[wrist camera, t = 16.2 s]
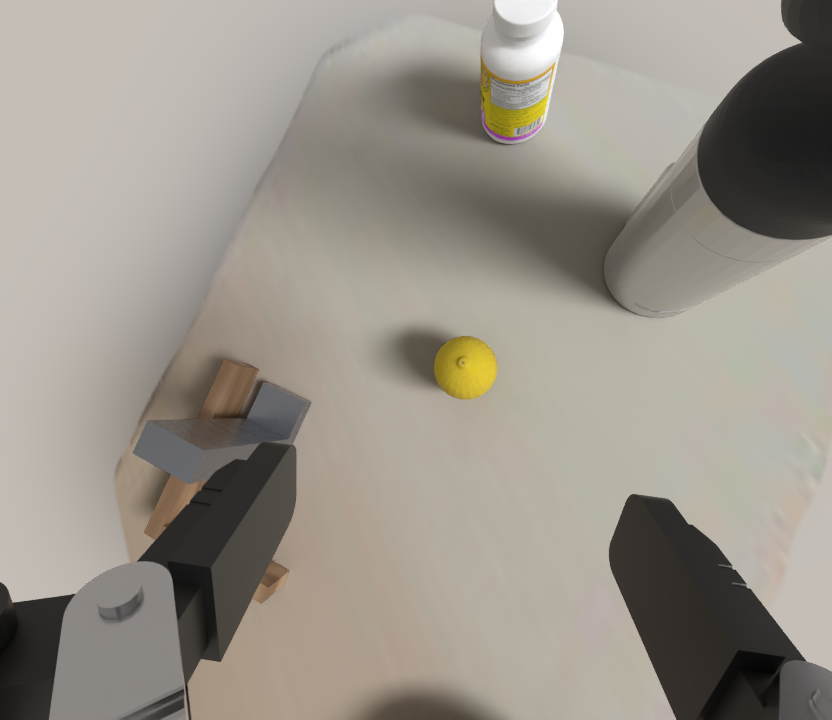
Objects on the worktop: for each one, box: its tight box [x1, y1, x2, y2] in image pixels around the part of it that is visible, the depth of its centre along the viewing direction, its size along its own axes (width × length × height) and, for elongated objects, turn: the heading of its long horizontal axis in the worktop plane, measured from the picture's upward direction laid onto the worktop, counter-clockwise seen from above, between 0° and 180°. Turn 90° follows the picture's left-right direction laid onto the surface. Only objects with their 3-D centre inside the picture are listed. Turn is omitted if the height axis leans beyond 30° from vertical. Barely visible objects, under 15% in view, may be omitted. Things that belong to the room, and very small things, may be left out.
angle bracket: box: [133, 382, 311, 484], centre depth 35 cm, size 5×6×14 cm
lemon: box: [434, 336, 497, 399], centre depth 36 cm, size 6×6×8 cm
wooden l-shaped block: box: [144, 359, 289, 604], centre depth 40 cm, size 14×18×4 cm
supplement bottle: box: [481, 0, 564, 144], centre depth 36 cm, size 7×7×13 cm
